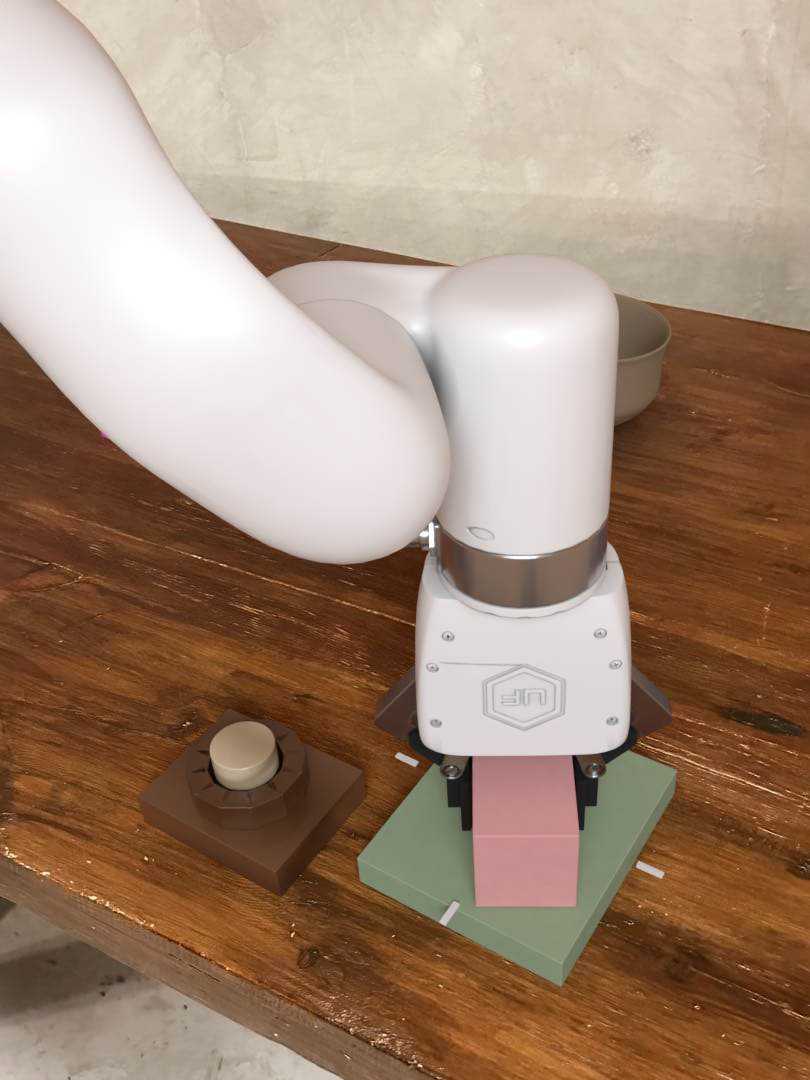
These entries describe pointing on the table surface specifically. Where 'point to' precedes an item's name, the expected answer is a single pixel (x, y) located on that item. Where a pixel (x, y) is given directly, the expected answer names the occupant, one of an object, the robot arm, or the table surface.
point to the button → (244, 755)
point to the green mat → (517, 932)
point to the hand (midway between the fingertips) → (521, 807)
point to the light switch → (255, 807)
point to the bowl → (638, 356)
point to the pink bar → (525, 831)
